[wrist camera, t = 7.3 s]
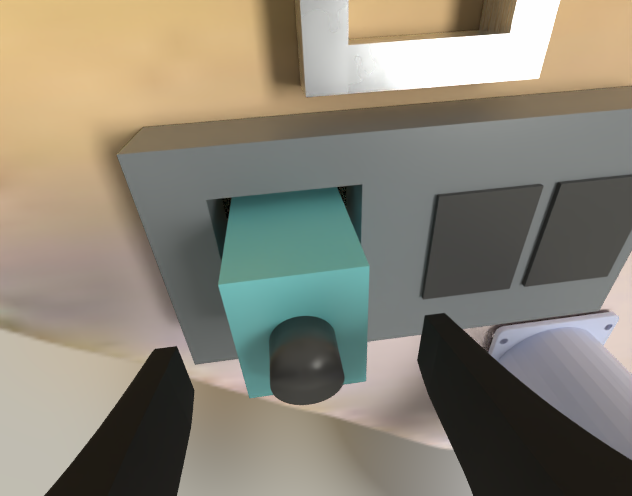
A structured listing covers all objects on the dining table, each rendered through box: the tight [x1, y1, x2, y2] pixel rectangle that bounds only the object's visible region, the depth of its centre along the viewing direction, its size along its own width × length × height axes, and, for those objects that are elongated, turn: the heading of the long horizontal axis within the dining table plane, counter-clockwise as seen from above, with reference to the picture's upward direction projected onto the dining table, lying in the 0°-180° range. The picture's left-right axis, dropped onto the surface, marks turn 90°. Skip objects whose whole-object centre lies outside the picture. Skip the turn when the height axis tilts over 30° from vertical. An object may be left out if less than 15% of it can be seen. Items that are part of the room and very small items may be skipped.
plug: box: [218, 187, 369, 405], centre depth 13 cm, size 5×4×8 cm
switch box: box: [117, 86, 632, 365], centre depth 16 cm, size 10×20×3 cm, turn 93°
